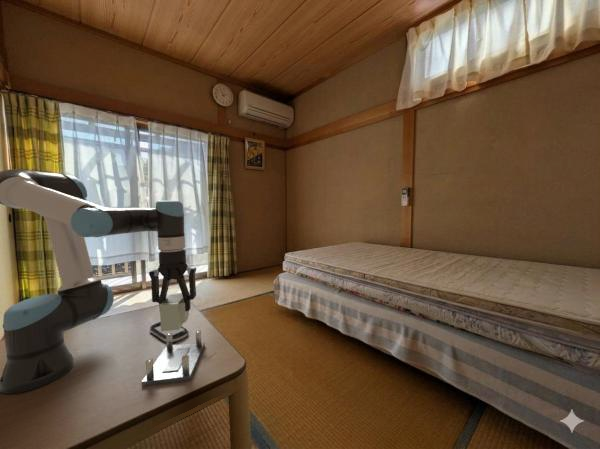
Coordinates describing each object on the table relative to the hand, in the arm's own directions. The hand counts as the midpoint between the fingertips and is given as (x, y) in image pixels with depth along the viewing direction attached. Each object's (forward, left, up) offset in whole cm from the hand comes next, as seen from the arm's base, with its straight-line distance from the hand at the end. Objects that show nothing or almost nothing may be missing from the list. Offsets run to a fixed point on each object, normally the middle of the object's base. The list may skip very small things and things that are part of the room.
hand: (176, 321), depth 76 cm
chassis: (0, 0, -14) cm, 14 cm away
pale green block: (0, 0, 0) cm, 0 cm away
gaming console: (-10, +21, -15) cm, 28 cm away
